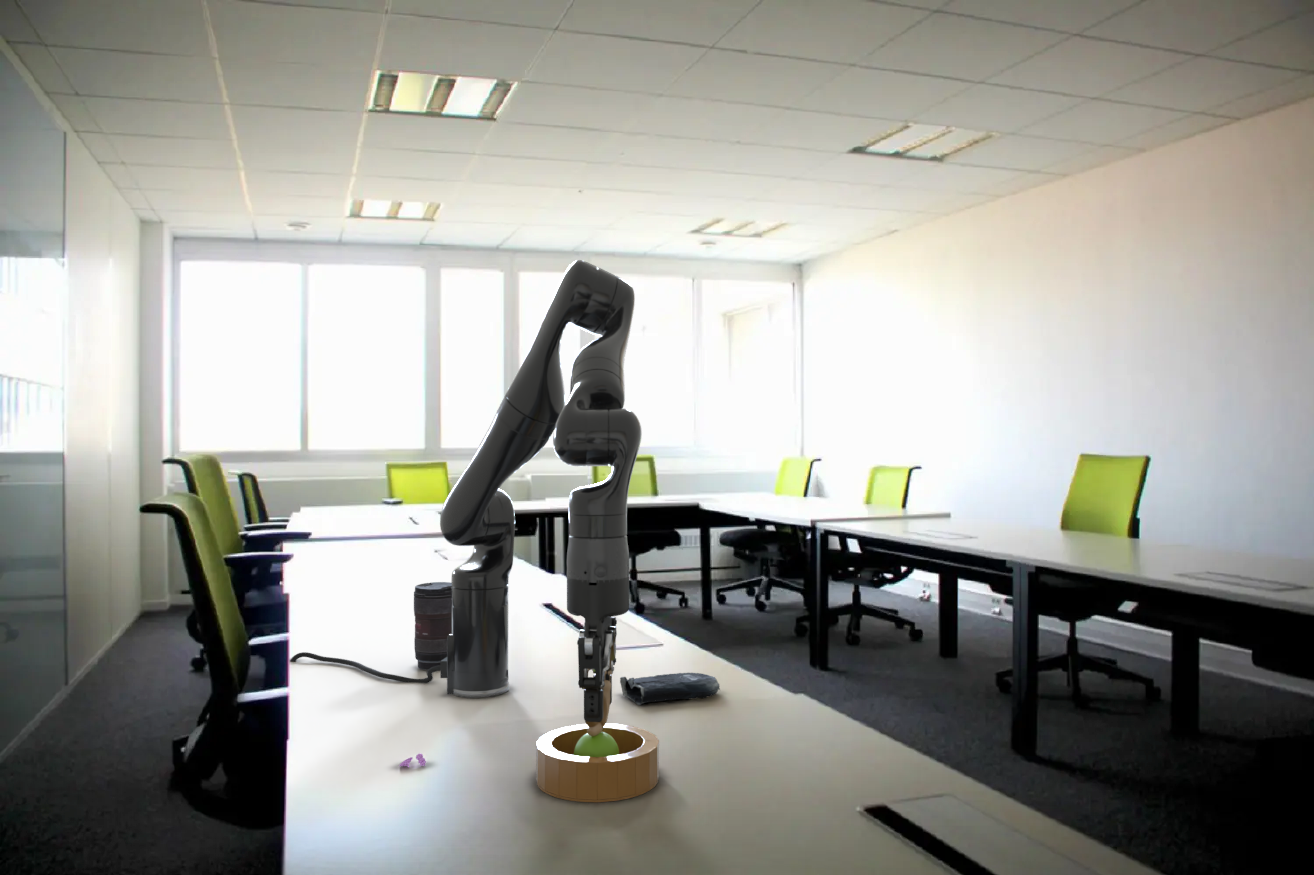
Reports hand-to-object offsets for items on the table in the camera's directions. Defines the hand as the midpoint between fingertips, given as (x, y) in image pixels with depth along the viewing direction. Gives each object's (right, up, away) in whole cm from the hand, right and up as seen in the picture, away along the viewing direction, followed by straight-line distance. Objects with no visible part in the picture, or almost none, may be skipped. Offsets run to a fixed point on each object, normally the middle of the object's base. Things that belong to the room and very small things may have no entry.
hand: (598, 712), depth 110 cm
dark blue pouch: (+10, -9, +37) cm, 39 cm away
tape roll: (0, -8, 0) cm, 8 cm away
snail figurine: (0, -8, 0) cm, 8 cm away
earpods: (-24, -8, +4) cm, 25 cm away
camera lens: (-33, -9, +57) cm, 67 cm away
